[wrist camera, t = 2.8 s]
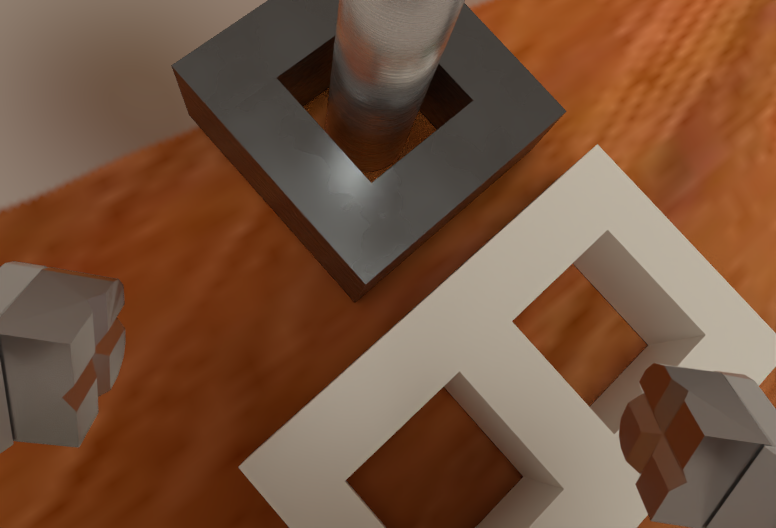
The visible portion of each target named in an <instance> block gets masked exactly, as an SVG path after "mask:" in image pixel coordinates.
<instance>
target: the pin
mask: <svg viewBox="0 0 776 528" xmlns="http://www.w3.org/2000/svg"><path fill="white" fill-rule="evenodd" d="M464 2H465V0H339V7H338V16H337V25H336V34H335V43H334V52H333V61H332V70H331V79H330V88H329V97H328V106H327V115H326V124H325V132H326V133H327V135H328V136H329V137H330V138H331V139H332V140H333V141H334V142H335V143H336V145H337V146H338V147H339V148H340V149H341V150H342V151H343V152H344V153H345V154H346V156H347V157H348V158H349V159H350V160H351V161H352V162H353V163H354V164H355V166H356V167H357V168H358V169H359V170H360V171H362V172H372V171H377V170H381V169H384V168H385V167H387V166H389V165H390V164H392V163H393V162H394V161H395V160H396V159H397V158H398V157H399V155H400V153H401V152H402V149H403V147H404V145H405V142H406V140H407V138H408V135H409V133H410V130H411V128H412V126H413V123H414V121H415V118H416V116H417V114H418V111H419V109H420V107H421V104H422V102H423V99H424V97H425V95H426V92H427V90H428V88H429V85H430V83H431V80H432V78H433V76H434V73H435V71H436V68H437V66H438V64H439V61H440V59H441V57H442V54H443V52H444V49H445V47H446V45H447V42H448V40H449V38H450V35H451V33H452V30H453V28H454V26H455V23H456V21H457V18H458V16H459V14H460V11H461V9H462V7H463V4H464Z"/></svg>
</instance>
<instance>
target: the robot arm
mask: <svg viewBox="0 0 776 528" xmlns="http://www.w3.org/2000/svg"><path fill="white" fill-rule="evenodd" d="M124 304H125V303H124V287H123V284H122V282H121V281H120V280H119V279H115V278H109V277H104V276H98V275H92V274H87V273H81V272H75V271H70V270H64V269H58V268H53V267H49V268H48V267H45V266H40V265H34V264H28V263H21V262H15V261H13V262H9V263H5V264H3V265H2V266H1V267H0V453H1V452H3V451H4V450H6V449H7V448H9V447H10V446H12V445H13V441H20V442H29V443H39V444H49V445H59V446H69V447H80V445H81V443H82V441H83V440H84V438H85V436H86V434H87V432H88V430H89V429H90V427H91V425H92V423H93V421H94V419H95V418H96V416H97V414H98V397H99V396H100V395H102V394H104V393H106V392H108V391H109V390H111V388H112V386H113V384H114V382H115V380H116V378H117V376H118V374H119V370H120V367H121V364H122V360H123V357H124V349H125V327H124V326H123V325H122V324H121V322H120V321H119V320H118V319H117V316H118V314H119V312H120V311H121V309H122V307H123V306H124ZM639 383H640V386H641V390H642V393H643V394H641V395H639V396H638V397H636V398H635V399H633V400H631V401H630V402H628V404H627V406H626V408H625V410H624V412H623V414H622V417H621V420H620V429H619V440H620V447H621V450H622V453H623V455H624V458H625V460H626V462H627V463H629V464H630V465H631V466H632V467H633V468H634V469H635V470H636V471H637V472H638V473H639V474H640V475H639V477H638V479H637V482H636V484H635V485H636V487H637V489H638V492H639V494H640V497H641V499H642V501H643V504H644V506H645V508H646V511H647V513H648V516H649V518H650V520H651V521H654V522H660V523H667V524H673V525H679V526H686V527H692V528H776V409H775V408H774V406H773V405H772V403H771V402H770V401H769V399H768V398H767V397H766V395H765V394H764V393H763V391H762V390H761V389H760V387H759V386H758V385H757V383H756V382H755V381H754V380H753V379H751V378H750V377H748V376H746V375H744V374H736V373H728V372H720V371H706V370H699V369H692V368H685V367H678V366H671V365H665V364H658V363H653V364H652V365H651V366H649V367H648V368H647V369H646V370H645V372H644V374H643V376H642V377H641V379H640V381H639Z"/></svg>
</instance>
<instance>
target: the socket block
mask: <svg viewBox="0 0 776 528" xmlns="http://www.w3.org/2000/svg"><path fill="white" fill-rule="evenodd" d="M338 7H339V0H268V1H266V2H265V3H263V4H262V5H260V6H259V7H257V8H256V9H255V10H253V11H252V12H250V13H249V14H247V15H246V16H244V17H243V18H241V19H240V20H238V21H237V22H235V23H234V24H232V25H231V26H229V27H228V28H227V29H225V30H223V31H222V32H220V33H219V34H217V35H216V36H214V37H213V38H211V39H210V40H208V41H207V42H206V43H204V44H203V45H201V46H200V47H198V48H197V49H195V50H194V51H192V52H191V53H189V54H188V55H186V56H185V57H183V58H182V59H180V60H179V61H177V62H176V63H174V64H173V65H172V69H173V71H174V74H175V77H176V80H177V83H178V86H179V88H180V91H181V94H182V97H183V99H184V102H185V105H186V108H187V110H188V113H189V115H190V116H191V118H192V119H193V120H194V121H195V122H196V123H197V124H198V126H199V127H200V128H201V129H202V130H203V131H204V132H205V133H206V135H207V136H208V137H209V138H210V139H211V140H212V141H213V142H214V144H215V145H216V146H217V147H218V148H219V149H220V150H221V152H222V153H223V154H224V155H225V156H226V157H227V158H228V159H229V161H230V162H231V163H232V164H233V165H234V166H235V167H236V169H237V170H238V171H239V172H240V173H241V174H242V175H243V176H244V178H245V179H246V180H247V181H248V182H249V183H250V184H251V185H252V187H253V188H254V189H255V190H256V191H257V192H258V193H259V195H260V196H261V197H262V198H263V199H264V200H265V201H266V202H267V204H268V205H269V206H270V207H271V208H272V209H273V210H274V212H275V213H276V214H277V215H278V216H279V217H280V218H281V219H282V221H283V222H284V223H285V224H286V225H287V226H288V227H289V228H290V230H291V231H292V232H293V233H294V234H295V235H296V236H297V238H298V239H299V240H300V241H301V242H302V243H303V244H304V245H305V247H306V248H307V249H308V250H309V251H310V252H311V253H312V254H313V256H314V257H315V258H316V259H317V260H318V261H319V262H320V264H321V265H322V266H323V267H324V268H325V269H326V270H327V271H328V273H329V274H330V275H331V276H332V277H333V278H334V279H335V281H336V282H337V283H338V284H339V285H340V286H341V287H342V288H343V290H344V291H345V292H346V293H347V294H348V295H349V296H350V297H351V299H352V300H353V301H354V302H356V301H358V300H359V299H360V298H361V297H362V296H363V295H364V294H366V293H367V292H368V291H369V290H370V289H371V288H373V287H374V286H375V285H376V284H377V283H378V282H379V281H381V280H382V279H383V278H384V277H385V276H386V275H388V274H389V273H390V272H391V271H392V270H393V269H394V268H396V267H397V266H398V265H399V264H400V263H401V262H403V261H404V260H405V259H406V258H407V257H408V256H409V255H411V254H412V253H413V252H414V251H415V250H416V249H418V248H419V247H420V246H421V245H422V244H423V243H424V242H426V241H427V240H428V239H429V238H430V237H431V236H433V235H434V234H435V233H436V232H437V231H438V230H439V229H441V228H442V227H443V226H444V225H445V224H446V223H448V222H449V221H450V220H451V219H452V218H453V217H454V216H456V215H457V214H458V213H459V212H460V211H461V210H463V209H464V208H465V207H466V206H467V205H468V204H469V203H471V202H472V201H473V200H474V199H475V198H476V197H478V196H479V195H480V194H481V193H482V192H483V191H484V190H486V189H487V188H488V187H489V186H490V185H491V184H493V183H494V182H495V181H496V180H497V179H498V178H499V177H501V176H502V175H503V174H504V173H505V172H506V171H508V170H509V169H510V168H511V167H512V166H513V165H514V164H516V163H517V162H518V161H519V160H520V159H521V158H523V157H524V156H525V155H526V154H527V153H528V152H529V151H530V150H531V149H532V148H533V147H534V146H535V145H536V144H537V143H538V142H539V141H540V140H541V138H542V137H543V136H544V135H545V134H546V133H547V132H548V131H549V130H550V129H551V128H552V126H553V125H554V124H555V123H556V122H557V121H558V120H559V119H560V118H561V117H562V116H563V115H564V113H565V112H566V110H565V109H564V108H563V107H562V106H561V105H560V104H559V103H558V102H557V101H556V100H555V99H554V98H553V97H552V96H551V94H550V93H549V92H548V91H547V90H546V89H545V88H544V87H543V86H542V85H541V84H540V83H539V82H538V81H537V80H536V79H535V77H534V76H533V75H532V74H531V73H530V72H529V71H528V70H527V69H526V68H525V67H524V66H523V65H522V64H521V63H520V62H519V60H518V59H517V58H516V57H515V56H514V55H513V54H512V53H511V52H510V51H509V50H508V49H507V48H506V47H505V46H504V45H503V43H502V42H501V41H500V40H499V39H498V38H497V37H496V36H495V35H494V34H493V33H492V32H491V31H490V30H489V29H488V28H487V27H486V25H485V24H484V23H483V22H482V21H481V20H480V19H479V18H478V17H477V16H476V15H475V14H474V13H473V12H472V11H471V10H470V8H469V7H468V6H467V5H466V4H465V3H464V4H463V7H462V9H461V11H460V14H459V16H458V18H457V21H456V23H455V26H454V28H453V30H452V33H451V35H450V38H449V40H448V42H447V45H446V47H445V49H444V52H443V54H442V57H441V59H440V61H439V64H438V66H437V68H436V71H435V73H434V76H433V78H432V80H431V83H430V85H429V88H428V90H427V92H426V95H425V97H424V99H423V102H422V104H421V107H420V109H419V110H420V111H421V112H422V114H423V115H424V116H425V117H426V118H427V119H428V120H429V121H430V122H431V123H432V124H433V126H434V127H435V128H436V129H437V131H435V132H434V133H433V134H432V135H430V136H429V137H428V138H427V139H425V140H424V141H423V142H422V143H420V144H419V145H418V146H417V147H416V148H414V149H413V150H412V151H411V152H409V153H408V154H407V155H406V156H404V157H403V158H402V159H401V160H400V161H398V162H397V163H396V164H395V165H393V166H392V167H391V168H390V169H388V170H387V171H386V172H385V173H383V174H382V175H381V176H380V177H379V178H377V179H376V180H375V181H374V182H372V183H371V182H370V181H369V180H368V179H367V178H366V177H365V176H364V174H363V173H362V172H361V171H360V170H359V169H358V168H357V167H356V166H355V164H354V163H353V162H352V161H351V160H350V159H349V158H348V157H347V156H346V154H345V153H344V152H343V151H342V150H341V149H340V148H339V147H338V146H337V145H336V143H335V142H334V141H333V140H332V139H331V138H330V137H329V136H328V135H327V133H326V132H325V131H324V130H323V129H322V128H321V127H320V126H319V125H318V123H317V122H316V121H315V120H314V119H313V118H312V117H311V116H310V115H309V113H308V112H307V111H306V110H305V109H304V108H303V106H304V105H305V104H307V103H308V102H309V101H311V100H312V99H314V98H315V97H316V96H318V95H319V94H320V93H322V92H323V91H324V90H326V89H327V88H328V87H330V79H331V70H332V61H333V52H334V43H335V34H336V25H337V16H338Z"/></svg>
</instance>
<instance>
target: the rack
mask: <svg viewBox="0 0 776 528" xmlns="http://www.w3.org/2000/svg"><path fill="white" fill-rule="evenodd" d="M572 263H573V264H574V265H575V266H576V267H577V268H578V269H579V271H580V272H581V273H582V274H583V275H584V276H585V277H586V278H587V279H588V280H589V281H590V283H591V284H592V285H593V286H594V287H595V288H596V289H597V290H598V291H599V292H600V293H601V294H602V296H603V297H604V298H605V299H606V300H607V301H608V302H609V303H610V304H611V305H612V306H613V307H614V309H615V310H616V311H617V312H618V313H619V314H620V315H621V316H622V317H623V318H624V319H625V320H626V322H627V323H628V324H629V325H630V326H631V327H632V328H633V329H634V330H635V331H636V332H637V334H638V335H639V336H640V337H641V338H642V339H643V340H644V341H645V342H646V343H647V344H648V346H647V347H646V348H645V349H644V350H643V351H642V352H641V353H640V354H639V355H638V357H637V358H636V359H635V360H634V361H633V362H632V363H631V364H630V365H629V366H628V367H627V368H626V369H625V370H624V371H623V372H622V373H621V374H620V375H619V377H618V378H617V379H616V380H615V381H614V382H613V383H612V384H611V385H610V386H609V387H608V388H607V389H606V390H605V391H604V392H603V393H602V394H601V396H600V397H599V398H598V399H597V400H596V401H595V402H594V403H593V404H592V405H591V406H590V407H589V406H588V405H587V404H586V403H585V402H584V400H583V399H582V398H581V397H580V396H579V395H578V394H577V393H576V392H575V391H574V389H573V388H572V387H571V386H570V385H569V384H568V383H567V382H566V381H565V379H564V378H563V377H562V376H561V375H560V374H559V373H558V372H557V371H556V370H555V368H554V367H553V366H552V365H551V364H550V363H549V362H548V361H547V360H546V358H545V357H544V356H543V355H542V354H541V353H540V352H539V351H538V350H537V349H536V347H535V346H534V345H533V344H532V343H531V342H530V341H529V340H528V339H527V337H526V336H525V335H524V334H523V333H522V332H521V331H520V330H519V329H518V328H517V326H516V325H515V324H514V323H513V322H512V321H513V320H514V319H515V318H516V317H517V316H518V315H519V314H520V313H521V312H522V311H523V310H524V309H525V308H526V307H527V306H528V305H529V304H530V303H531V302H533V301H534V300H535V299H536V298H537V297H538V296H539V295H540V294H541V293H542V292H543V291H544V290H545V289H546V288H547V287H548V286H549V285H550V284H551V283H552V282H553V281H554V280H556V279H557V278H558V277H559V276H560V275H561V274H562V273H563V272H564V271H565V270H566V269H567V268H568V267H569V266H570V265H571V264H572ZM653 363H658V364H665V365H671V366H678V367H685V368H692V369H699V370H706V371H720V372H728V373H736V374H744V375H746V376H748V377H750V378H751V379H753V380H754V381H755V382H756V383H757V385H758V386H759V385H760V384H761V383H762V382H763V380H764V379H765V378H766V377H767V376H768V375H769V373H770V372H771V371H772V370H773V369H774V368H775V366H776V333H775V332H774V331H773V330H772V329H771V328H770V327H769V326H768V325H767V324H766V323H765V322H764V321H763V319H762V318H761V317H760V316H759V315H758V314H757V313H756V312H755V311H754V310H753V309H752V308H751V307H750V306H749V305H748V304H747V302H746V301H745V300H744V299H743V298H742V297H741V296H740V295H739V294H738V293H737V292H736V291H735V290H734V289H733V288H732V287H731V285H730V284H729V283H728V282H727V281H726V280H725V279H724V278H723V277H722V276H721V275H720V274H719V273H718V272H717V271H716V270H715V269H714V267H713V266H712V265H711V264H710V263H709V262H708V261H707V260H706V259H705V258H704V257H703V256H702V255H701V254H700V253H699V252H698V250H697V249H696V248H695V247H694V246H693V245H692V244H691V243H690V242H689V241H688V240H687V239H686V238H685V237H684V236H683V235H682V233H681V232H680V231H679V230H678V229H677V228H676V227H675V226H674V225H673V224H672V223H671V222H670V221H669V220H668V219H667V218H666V217H665V215H664V214H663V213H662V212H661V211H660V210H659V209H658V208H657V207H656V206H655V205H654V204H653V203H652V202H651V201H650V200H649V198H648V197H647V196H646V195H645V194H644V193H643V192H642V191H641V190H640V189H639V188H638V187H637V186H636V185H635V184H634V183H633V181H632V180H631V179H630V178H629V177H628V176H627V175H626V174H625V173H624V172H623V171H622V170H621V169H620V168H619V167H618V166H617V164H616V163H615V162H614V161H613V160H612V159H611V158H610V157H609V156H608V155H607V154H606V153H605V152H604V151H603V150H602V149H601V148H600V146H599V145H598V144H597V145H596V146H595V147H594V148H593V149H591V150H590V151H589V152H588V153H587V154H586V155H585V156H583V157H582V158H581V159H580V160H579V161H578V162H576V163H575V164H574V165H573V166H572V167H571V168H570V169H568V170H567V171H566V172H565V173H564V174H563V175H562V176H560V177H559V178H558V179H557V180H556V181H555V182H554V183H552V184H551V185H550V186H549V187H548V188H547V189H546V190H545V191H544V192H542V193H541V194H540V195H539V196H538V197H537V198H536V199H535V200H534V201H532V202H531V203H530V204H529V205H528V206H527V207H526V208H525V209H523V210H522V211H521V212H520V213H519V214H518V215H517V216H516V217H515V218H513V219H512V220H511V221H510V222H509V223H508V224H507V225H506V226H505V227H503V228H502V229H501V230H500V231H499V232H498V233H497V234H496V235H495V236H493V237H492V238H491V239H490V240H489V241H488V242H487V243H486V244H485V245H483V246H482V247H481V248H480V249H479V250H478V251H477V252H476V253H474V254H473V255H472V256H471V257H470V258H469V259H468V260H467V261H466V262H464V263H463V264H462V265H461V266H460V267H459V268H458V269H457V270H456V271H454V272H453V273H452V274H451V275H450V276H449V277H448V278H447V279H446V280H444V281H443V282H442V283H441V284H440V285H439V286H438V287H437V288H435V289H434V290H433V291H432V292H431V293H430V294H429V295H428V296H427V297H425V298H424V299H423V300H422V301H421V302H420V303H419V304H418V305H417V306H415V307H414V308H413V309H412V310H411V311H410V312H409V313H408V314H407V315H405V316H404V317H403V318H402V319H401V320H400V321H399V322H398V323H396V324H395V325H394V326H393V327H392V328H391V329H390V330H389V331H388V332H386V333H385V334H384V335H383V336H382V337H381V338H380V339H379V340H378V341H376V342H375V343H374V344H373V345H372V346H371V347H370V348H369V349H368V350H366V351H365V352H364V353H363V354H362V355H361V356H360V357H359V358H358V359H356V360H355V361H354V362H353V363H352V364H351V365H350V366H349V367H347V368H346V369H345V370H344V371H343V372H342V373H341V374H340V375H339V376H337V377H336V378H335V379H334V380H333V381H332V382H331V383H330V384H329V385H327V386H326V387H325V388H324V389H323V390H322V391H321V392H320V393H319V394H317V395H316V396H315V397H314V398H313V399H312V400H311V401H310V402H308V403H307V404H306V405H305V406H304V407H303V408H302V409H301V410H300V411H298V412H297V413H296V414H295V415H294V416H293V417H292V418H291V419H290V420H288V421H287V422H286V423H285V424H284V425H283V426H282V427H281V428H280V429H278V430H277V431H276V432H275V433H274V434H273V435H272V436H271V437H270V438H268V439H267V440H266V441H265V442H264V443H263V444H262V445H261V446H259V447H258V448H257V449H256V450H255V451H254V452H253V453H252V454H251V455H249V456H248V457H247V458H246V459H245V460H244V461H243V462H242V463H241V465H240V466H239V467H238V468H239V469H240V470H241V471H242V472H243V474H244V475H245V476H246V477H247V478H248V480H249V481H250V482H251V483H252V484H253V485H254V487H255V488H256V489H257V490H258V491H259V493H260V494H261V495H262V496H263V497H264V498H265V500H266V501H267V502H268V503H269V504H270V506H271V507H272V508H273V509H274V510H275V511H276V513H277V514H278V515H279V516H280V517H281V519H282V520H283V521H284V522H285V523H286V524H287V526H288V527H289V528H386V526H385V525H384V524H383V523H382V522H381V521H380V519H379V518H378V517H377V516H376V515H375V514H374V512H373V511H372V510H371V509H370V508H369V507H368V505H367V504H366V503H365V502H364V501H363V500H362V499H361V497H360V496H359V495H358V494H357V493H356V492H355V490H354V489H353V488H352V487H351V486H350V485H349V483H348V482H347V481H346V479H348V478H349V477H350V476H351V475H352V474H353V473H354V472H355V471H356V470H357V469H358V468H359V467H360V466H361V465H362V464H363V463H364V462H365V461H366V460H367V459H368V458H369V457H371V456H372V455H373V454H374V453H375V452H376V451H377V450H378V449H379V448H380V447H381V446H382V445H383V444H384V443H385V442H386V441H387V440H388V439H389V438H390V437H391V436H392V435H394V434H395V433H396V432H397V431H398V430H399V429H400V428H401V427H402V426H403V425H404V424H405V423H406V422H407V421H408V420H409V419H410V418H411V417H412V416H413V415H414V414H415V413H416V412H418V411H419V410H420V409H421V408H422V407H423V406H424V405H425V404H426V403H427V402H428V401H429V400H430V399H431V398H432V397H433V396H434V395H435V394H436V393H437V392H438V391H439V390H441V389H442V388H443V387H444V388H445V389H446V390H447V391H448V392H449V393H450V394H451V396H452V397H453V398H454V399H455V400H456V401H457V402H458V403H459V405H460V406H461V407H462V408H463V409H464V410H465V411H466V412H467V414H468V415H469V416H470V417H471V418H472V419H473V420H474V422H475V423H476V424H477V425H478V426H479V427H480V428H481V429H482V431H483V432H484V433H485V434H486V435H487V436H488V437H489V438H490V440H491V441H492V442H493V443H494V444H495V445H496V446H497V447H498V449H499V450H500V451H501V452H502V453H503V454H504V455H505V457H506V458H507V459H508V460H509V461H510V462H511V463H512V464H513V466H514V467H515V468H516V469H517V470H518V471H519V472H520V473H521V475H522V476H523V478H522V479H521V480H520V481H519V482H518V483H517V484H516V485H515V486H514V487H513V488H512V489H511V490H510V491H509V493H508V494H507V495H506V496H505V497H504V498H503V499H502V500H501V501H500V502H499V503H498V504H497V505H496V506H495V507H494V508H493V509H492V510H491V511H490V513H489V514H488V515H487V516H486V517H485V518H484V519H483V520H482V521H481V522H480V523H479V524H478V525H477V526H476V527H475V528H637V527H638V526H639V524H640V523H641V522H642V521H643V520H644V519H645V517H646V516H647V515H648V513H647V511H646V508H645V506H644V504H643V501H642V499H641V497H640V494H639V492H638V489H637V487H636V485H635V484H636V482H637V479H638V477H639V475H640V474H639V473H638V472H637V471H636V470H635V469H634V468H633V467H632V466H631V465H630V464H629V463H627V462H626V460H625V458H624V455H623V453H622V450H621V447H620V440H619V429H620V420H621V417H622V414H623V412H624V410H625V408H626V406H627V404H628V402H630V401H631V400H633V399H635V398H636V397H638V396H639V395H641V394H643V393H642V390H641V386H640V383H639V381H640V379H641V377H642V376H643V374H644V372H645V370H646V369H647V368H648V367H649V366H651V365H652V364H653Z"/></svg>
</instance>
